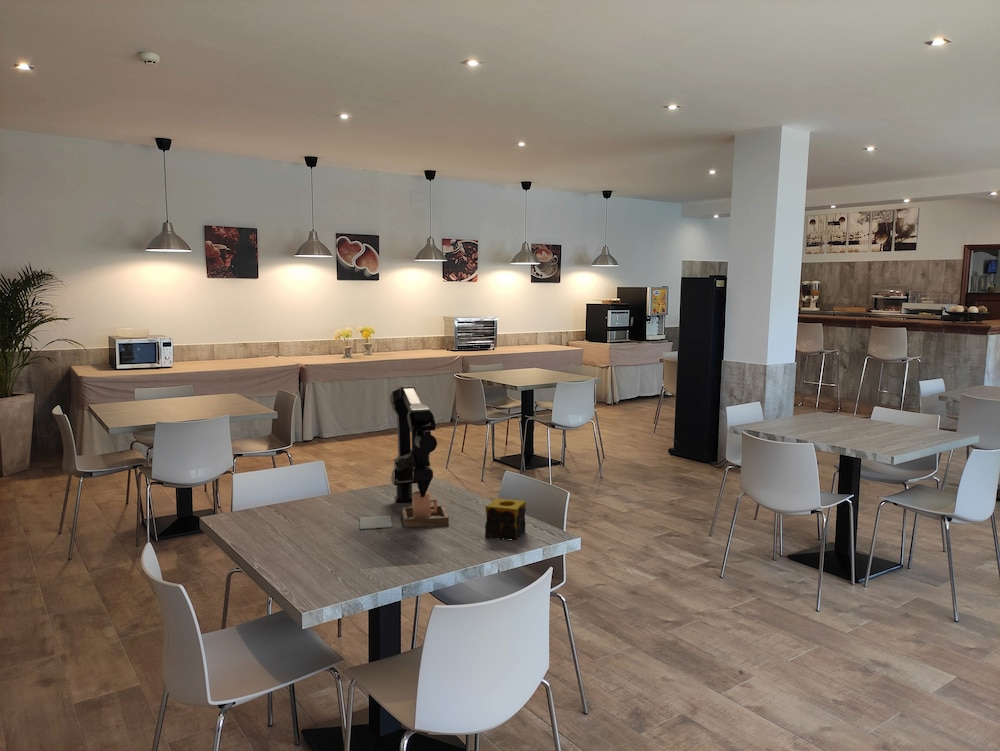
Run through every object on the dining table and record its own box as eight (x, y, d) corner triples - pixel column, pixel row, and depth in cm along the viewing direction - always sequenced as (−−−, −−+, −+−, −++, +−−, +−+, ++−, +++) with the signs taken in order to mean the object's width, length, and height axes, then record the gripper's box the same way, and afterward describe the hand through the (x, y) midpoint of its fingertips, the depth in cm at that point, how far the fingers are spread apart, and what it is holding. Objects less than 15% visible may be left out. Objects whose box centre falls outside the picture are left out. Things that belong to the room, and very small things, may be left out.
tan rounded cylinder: (412, 518, 240) (411, 491, 239) (436, 516, 241) (435, 490, 240) (413, 523, 234) (412, 496, 233) (438, 521, 235) (437, 495, 234)
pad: (359, 518, 239) (359, 517, 239) (390, 516, 241) (390, 515, 241) (360, 529, 228) (360, 528, 228) (392, 527, 230) (392, 526, 230)
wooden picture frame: (402, 514, 243) (402, 507, 243) (443, 512, 246) (443, 505, 246) (404, 527, 229) (404, 520, 229) (448, 524, 232) (448, 517, 232)
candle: (484, 538, 219) (484, 506, 218) (495, 528, 229) (495, 497, 228) (516, 541, 216) (516, 509, 215) (526, 531, 226) (526, 500, 225)
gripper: (393, 441, 242) (394, 487, 244) (397, 453, 224) (398, 502, 226) (427, 440, 244) (427, 485, 246) (432, 452, 226) (433, 500, 228)
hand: (421, 493), depth 237 cm, fingers open, 9 cm apart
